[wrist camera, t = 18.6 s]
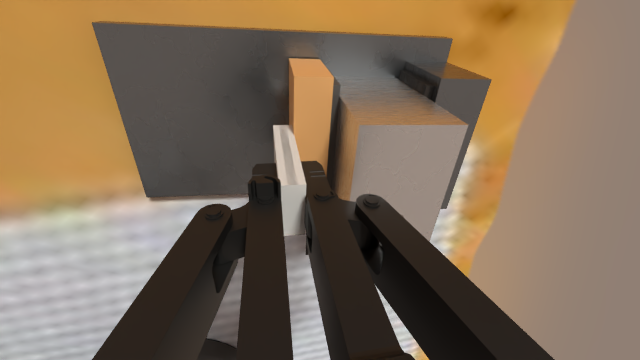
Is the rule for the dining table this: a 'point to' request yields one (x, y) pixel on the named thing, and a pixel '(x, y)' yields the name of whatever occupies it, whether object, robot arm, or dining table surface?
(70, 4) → the dining table surface
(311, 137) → the block
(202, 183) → the vise
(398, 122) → the steel block
